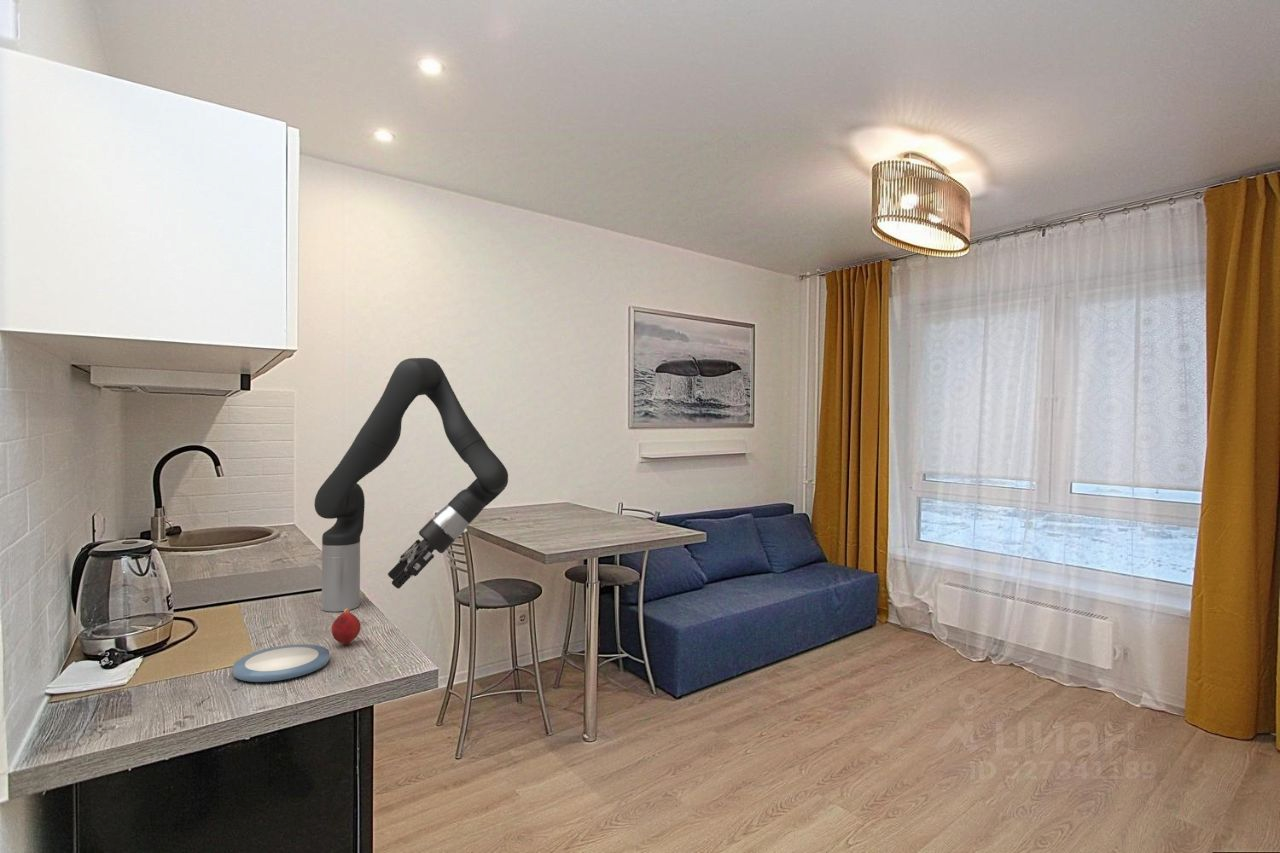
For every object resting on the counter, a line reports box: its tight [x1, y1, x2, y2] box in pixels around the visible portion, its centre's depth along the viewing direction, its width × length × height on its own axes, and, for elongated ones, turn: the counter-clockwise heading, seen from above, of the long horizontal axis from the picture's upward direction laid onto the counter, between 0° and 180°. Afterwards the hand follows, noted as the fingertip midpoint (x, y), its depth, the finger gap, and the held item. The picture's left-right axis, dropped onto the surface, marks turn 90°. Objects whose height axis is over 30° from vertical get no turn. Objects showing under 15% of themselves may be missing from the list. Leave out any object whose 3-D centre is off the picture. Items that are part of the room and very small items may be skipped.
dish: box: [232, 643, 330, 683], centre depth 130 cm, size 17×17×2 cm
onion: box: [331, 609, 361, 646], centre depth 144 cm, size 6×6×8 cm
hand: (392, 581), depth 148 cm, fingers open, 8 cm apart
